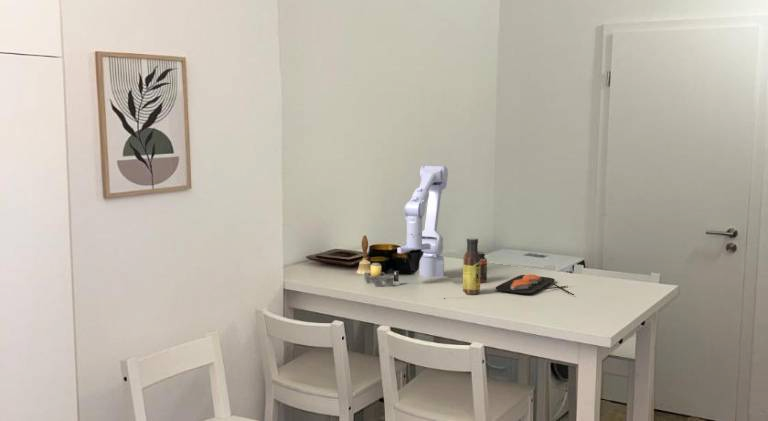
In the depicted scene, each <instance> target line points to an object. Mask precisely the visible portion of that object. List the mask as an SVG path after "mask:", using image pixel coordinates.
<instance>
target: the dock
mask: <svg viewBox="0 0 768 421" xmlns="http://www.w3.org/2000/svg"><path fill="white" fill-rule="evenodd" d="M363 279H364V281H365V282H366V283H367V284H373V285H374V287H375V288H382V287H383V286H382V281H386V286H385V287H387V288H388V287H390V288H391V287H394V285H393V280H394V277H393V276H392V275H387V274H386V272H384V271H381V276H371V273H365V274H364V278H363Z"/></svg>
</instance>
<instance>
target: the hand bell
mask: <svg viewBox="0 0 768 421" xmlns="http://www.w3.org/2000/svg"><path fill="white" fill-rule="evenodd" d="M361 248H362V260H361V261H359V264H358V269H357V270H356V272H355V273H356V274H359V275H365V273H371V265H372V263H371V261H369V260H368V250H369V240H368V238H367V235H363V236H362V240H361Z"/></svg>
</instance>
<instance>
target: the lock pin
mask: <svg viewBox="0 0 768 421" xmlns="http://www.w3.org/2000/svg"><path fill="white" fill-rule="evenodd" d="M399 273H400V272H399V270H394V271H393V286H400V280H399V278H400V276H399V275H400V274H399ZM382 287H386V281H382Z"/></svg>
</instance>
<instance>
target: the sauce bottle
mask: <svg viewBox="0 0 768 421" xmlns="http://www.w3.org/2000/svg"><path fill="white" fill-rule="evenodd" d="M478 243H479V238H477V237H467V238H466V244H467V245H466V252H465V253H464V255H463V264H462V292H463V293H464V294H466V295H472V296H473V295H479V294H480V293H481V292H480V290H481V283H480V273H481V272H480V271H481V260H480V257H479V254H478V252H479V251H478V246H479V244H478Z"/></svg>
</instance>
